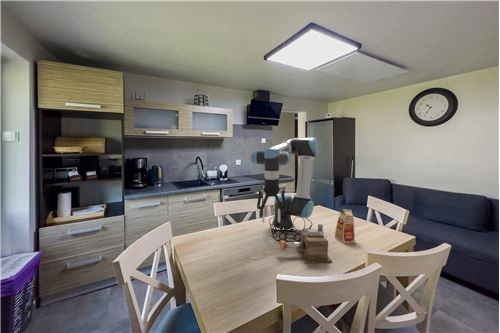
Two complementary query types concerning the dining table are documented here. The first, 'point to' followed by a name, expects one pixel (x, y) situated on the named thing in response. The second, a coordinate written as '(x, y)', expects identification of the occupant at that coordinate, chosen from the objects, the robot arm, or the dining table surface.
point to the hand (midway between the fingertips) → (271, 221)
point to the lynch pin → (291, 245)
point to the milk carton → (345, 227)
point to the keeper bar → (316, 231)
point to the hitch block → (314, 249)
